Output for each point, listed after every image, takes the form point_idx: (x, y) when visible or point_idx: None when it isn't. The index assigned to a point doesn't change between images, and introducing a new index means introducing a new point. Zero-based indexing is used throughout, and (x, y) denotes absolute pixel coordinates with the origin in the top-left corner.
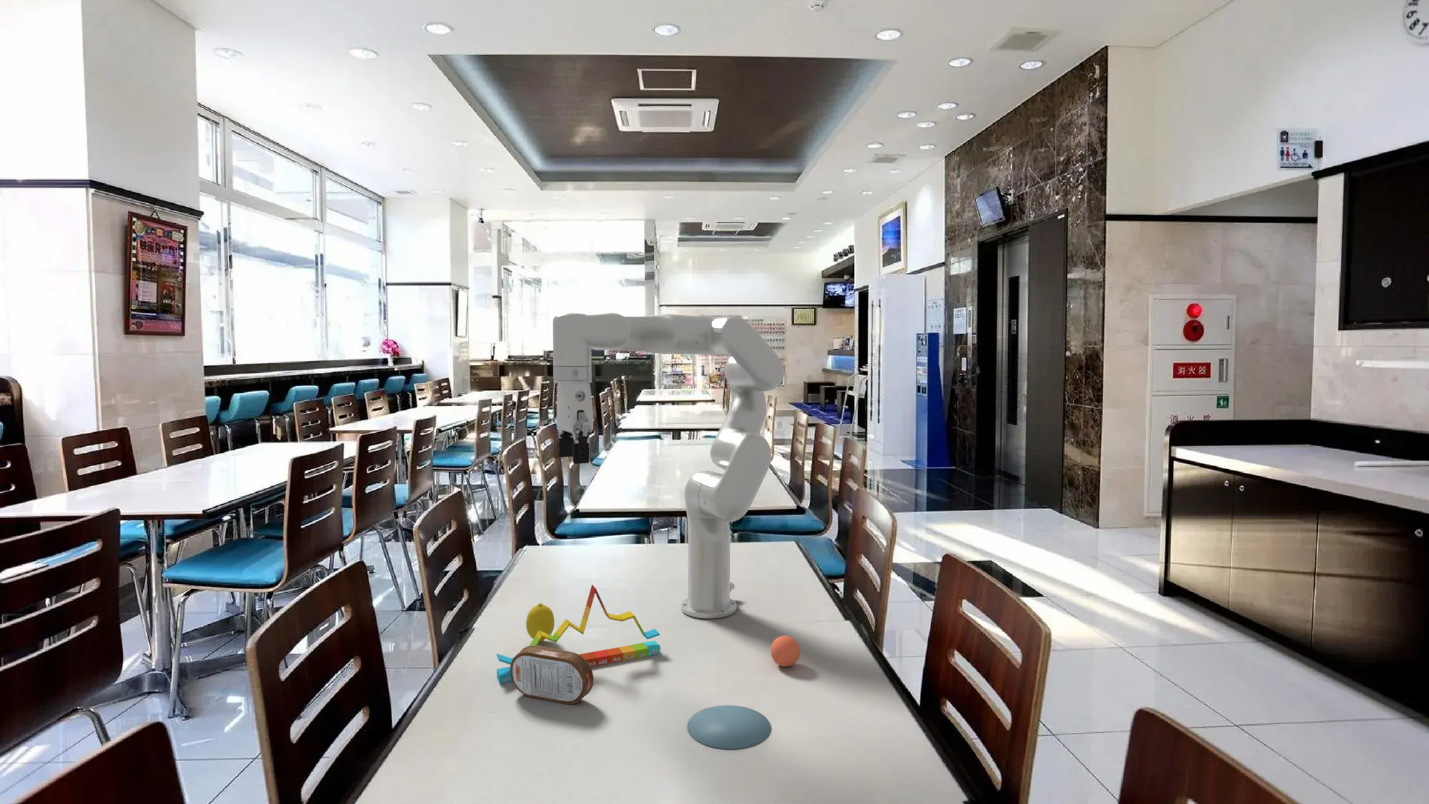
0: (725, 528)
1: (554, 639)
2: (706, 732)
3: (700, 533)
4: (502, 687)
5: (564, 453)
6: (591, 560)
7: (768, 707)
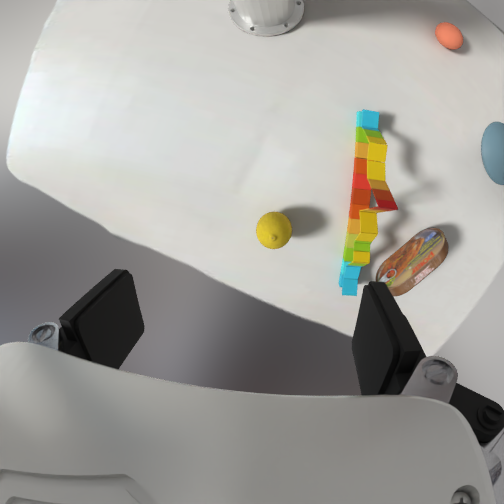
0: None
1: (366, 244)
2: (501, 173)
3: None
4: (362, 283)
5: (135, 322)
6: (47, 110)
7: (493, 109)
